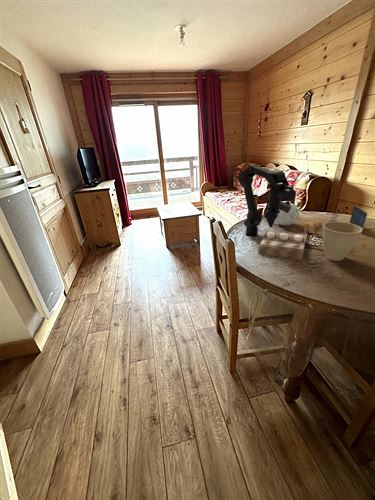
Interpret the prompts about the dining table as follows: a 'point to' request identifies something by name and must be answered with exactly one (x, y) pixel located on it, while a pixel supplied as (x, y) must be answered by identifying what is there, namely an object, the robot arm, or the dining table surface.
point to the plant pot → (339, 239)
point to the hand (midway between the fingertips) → (271, 225)
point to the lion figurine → (313, 227)
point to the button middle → (284, 236)
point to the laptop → (358, 217)
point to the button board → (282, 246)
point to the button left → (270, 235)
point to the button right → (298, 238)
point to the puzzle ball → (288, 216)
